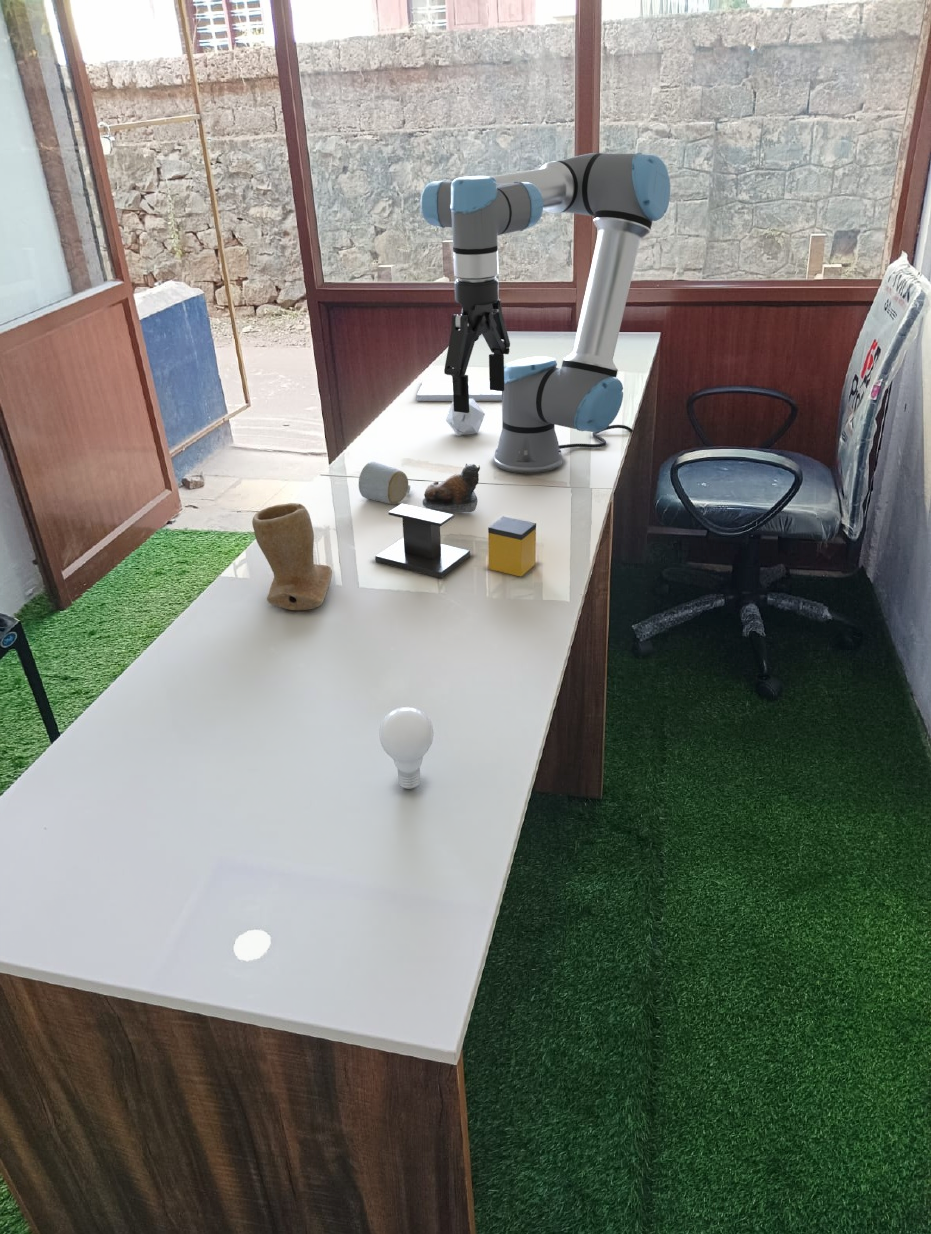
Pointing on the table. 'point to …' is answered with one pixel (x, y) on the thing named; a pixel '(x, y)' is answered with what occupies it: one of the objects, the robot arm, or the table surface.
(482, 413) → the die
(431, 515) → the stand
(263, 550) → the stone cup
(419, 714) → the lightbulb
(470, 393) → the computer keyboard
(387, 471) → the ceramic mug
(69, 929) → the table surface
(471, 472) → the brown animal-shaped figure
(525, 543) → the block
